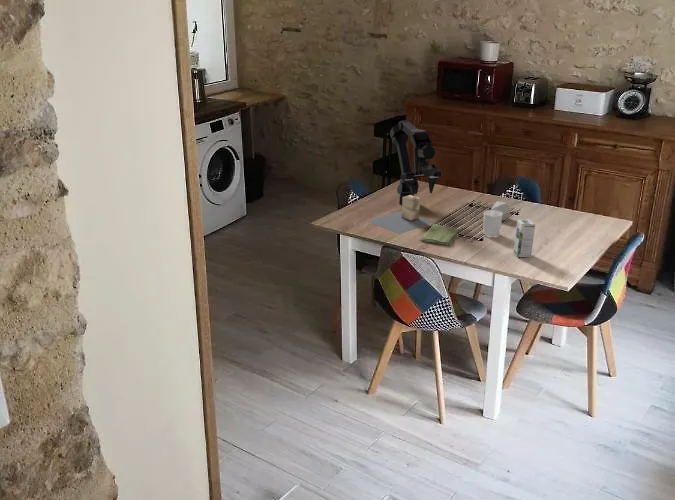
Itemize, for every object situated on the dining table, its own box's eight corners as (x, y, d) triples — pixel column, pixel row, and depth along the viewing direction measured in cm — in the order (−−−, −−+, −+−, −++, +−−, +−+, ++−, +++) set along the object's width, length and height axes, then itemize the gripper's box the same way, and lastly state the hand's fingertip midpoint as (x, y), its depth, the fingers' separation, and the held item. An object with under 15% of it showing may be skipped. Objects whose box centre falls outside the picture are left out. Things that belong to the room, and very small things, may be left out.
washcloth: (419, 242, 296) (419, 235, 294) (431, 229, 310) (432, 222, 309) (449, 248, 291) (450, 240, 289) (460, 233, 306) (461, 226, 304)
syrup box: (512, 252, 286) (516, 219, 280) (527, 252, 286) (531, 218, 280) (517, 258, 280) (521, 224, 275) (531, 257, 281) (536, 223, 275)
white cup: (501, 232, 306) (503, 211, 302) (499, 239, 299) (501, 217, 295) (483, 230, 308) (485, 209, 304) (480, 236, 301) (482, 215, 297)
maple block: (409, 215, 321) (410, 194, 317) (418, 219, 317) (420, 198, 313) (401, 218, 318) (402, 197, 314) (411, 221, 314) (412, 200, 310)
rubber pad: (402, 212, 328) (402, 210, 328) (433, 224, 314) (434, 222, 314) (367, 223, 315) (367, 221, 315) (399, 236, 301) (399, 233, 301)
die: (511, 218, 324) (503, 199, 325) (514, 215, 315) (506, 196, 316) (494, 225, 324) (486, 206, 325) (497, 222, 315) (489, 202, 317)
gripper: (411, 160, 304) (413, 196, 306) (448, 157, 311) (449, 192, 313) (399, 160, 314) (400, 195, 316) (434, 158, 321) (436, 192, 324)
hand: (422, 194), depth 317 cm, fingers open, 9 cm apart
